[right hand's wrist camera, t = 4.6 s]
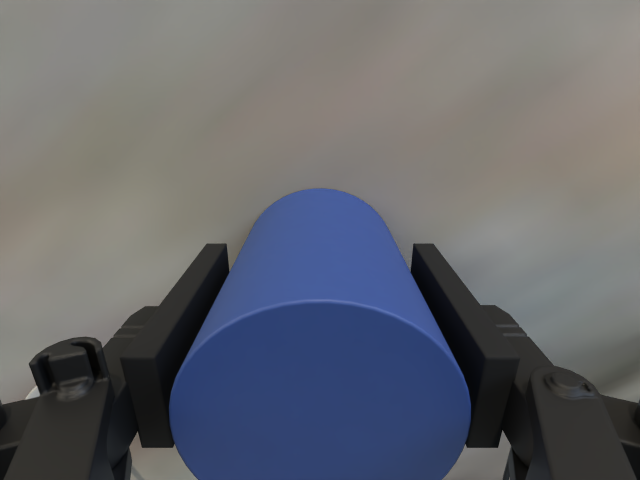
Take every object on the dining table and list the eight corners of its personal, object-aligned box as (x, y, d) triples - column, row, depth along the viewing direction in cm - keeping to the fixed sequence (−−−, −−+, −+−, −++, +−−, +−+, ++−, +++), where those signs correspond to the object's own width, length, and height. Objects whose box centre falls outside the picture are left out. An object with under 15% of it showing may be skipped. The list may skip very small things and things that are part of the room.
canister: (255, 174, 14) (173, 273, 6) (411, 203, 15) (520, 330, 7) (238, 311, 17) (163, 510, 9) (374, 333, 17) (422, 541, 9)
